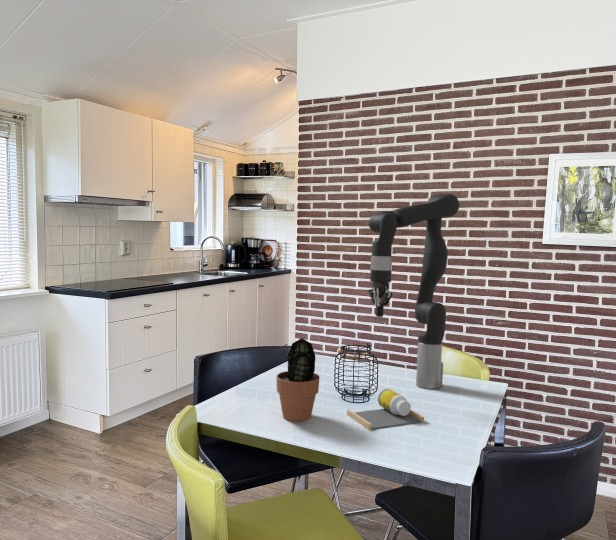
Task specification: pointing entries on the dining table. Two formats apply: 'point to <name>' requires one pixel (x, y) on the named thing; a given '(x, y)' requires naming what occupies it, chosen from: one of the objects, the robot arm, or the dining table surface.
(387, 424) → the grey flat rectangular board
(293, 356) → the potted plant
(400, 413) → the pill bottle
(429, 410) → the dining table surface
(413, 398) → the dining table surface
